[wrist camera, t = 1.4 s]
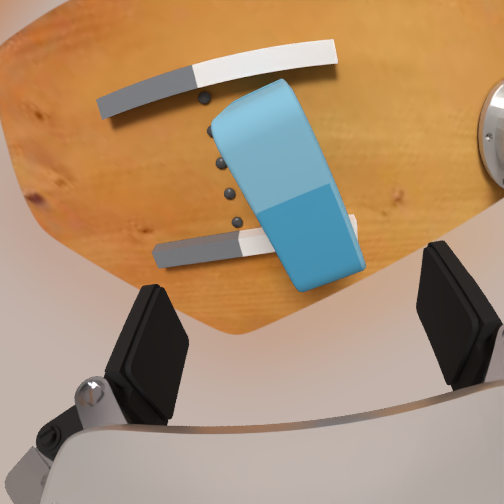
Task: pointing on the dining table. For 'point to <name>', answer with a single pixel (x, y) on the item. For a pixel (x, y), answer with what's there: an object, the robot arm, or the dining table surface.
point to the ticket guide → (196, 78)
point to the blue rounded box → (288, 185)
